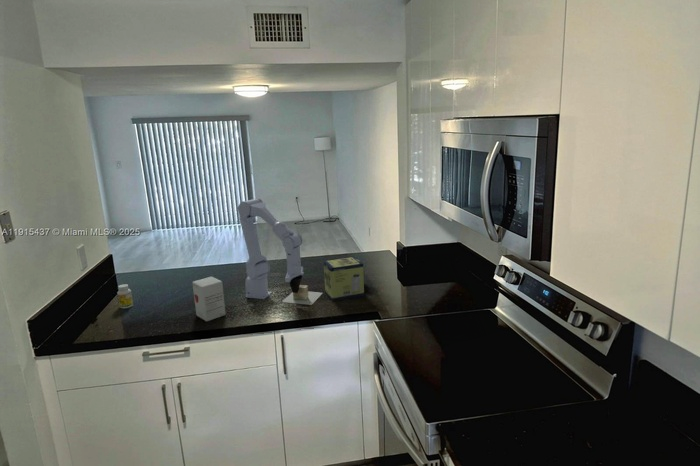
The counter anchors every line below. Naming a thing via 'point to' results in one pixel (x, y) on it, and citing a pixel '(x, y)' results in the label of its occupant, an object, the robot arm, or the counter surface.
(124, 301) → the supplement bottle
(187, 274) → the counter surface
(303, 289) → the maple block
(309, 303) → the grey rubber mat
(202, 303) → the supplement box
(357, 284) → the protein box
